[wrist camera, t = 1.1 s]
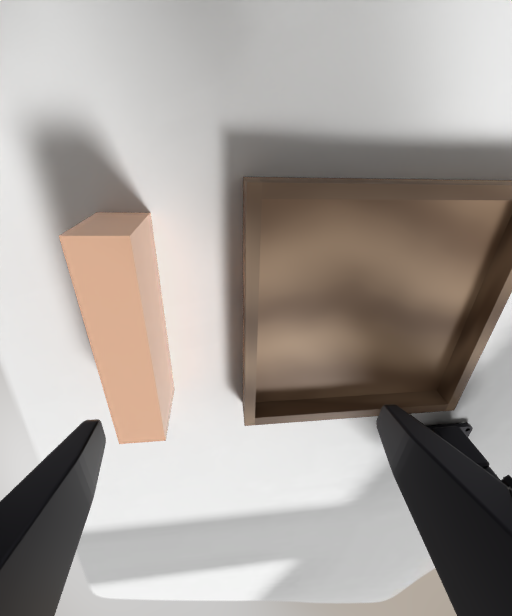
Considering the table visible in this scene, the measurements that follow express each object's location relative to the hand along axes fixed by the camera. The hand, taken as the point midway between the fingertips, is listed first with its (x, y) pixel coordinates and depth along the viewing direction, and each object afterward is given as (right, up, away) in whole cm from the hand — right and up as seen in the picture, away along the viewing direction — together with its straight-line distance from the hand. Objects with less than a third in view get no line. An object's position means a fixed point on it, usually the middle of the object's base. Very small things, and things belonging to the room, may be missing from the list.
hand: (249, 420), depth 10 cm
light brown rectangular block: (-8, +3, +11) cm, 14 cm away
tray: (+8, +4, +13) cm, 16 cm away
